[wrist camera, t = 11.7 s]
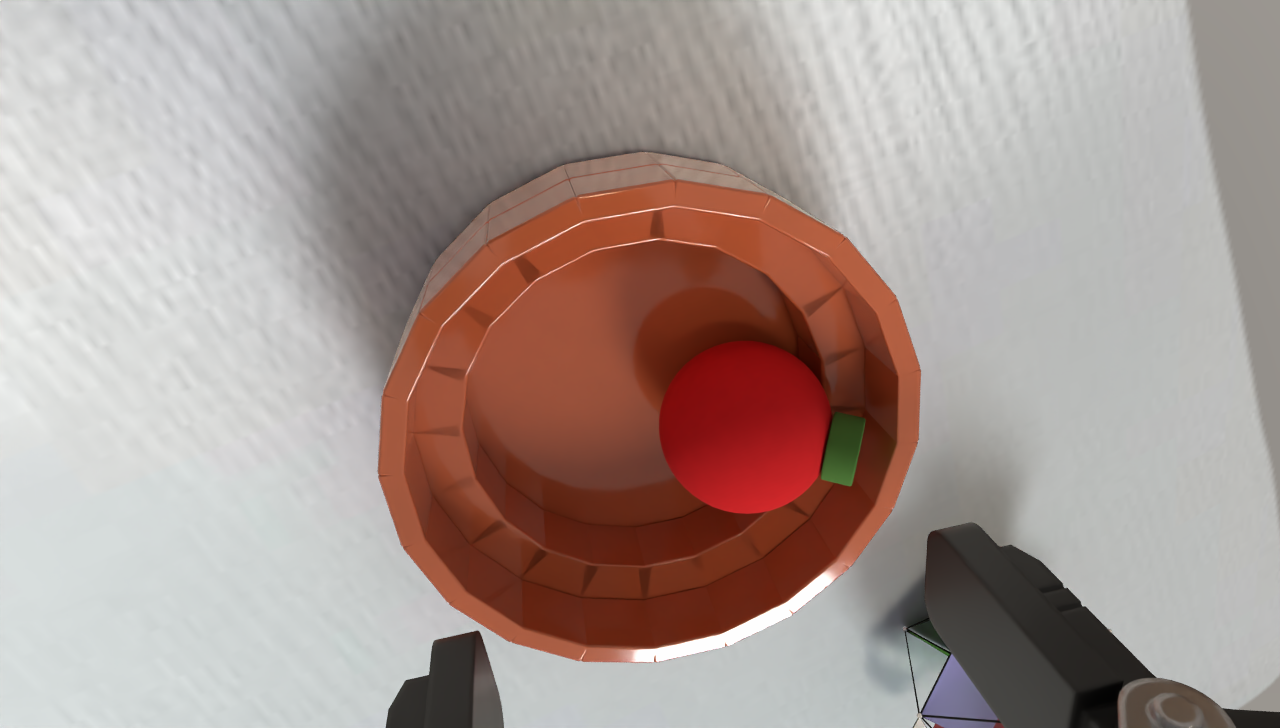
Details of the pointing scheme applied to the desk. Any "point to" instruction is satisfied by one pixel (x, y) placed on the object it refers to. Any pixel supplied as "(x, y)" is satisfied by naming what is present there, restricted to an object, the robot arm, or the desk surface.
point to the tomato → (754, 429)
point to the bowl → (630, 408)
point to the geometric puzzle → (953, 697)
